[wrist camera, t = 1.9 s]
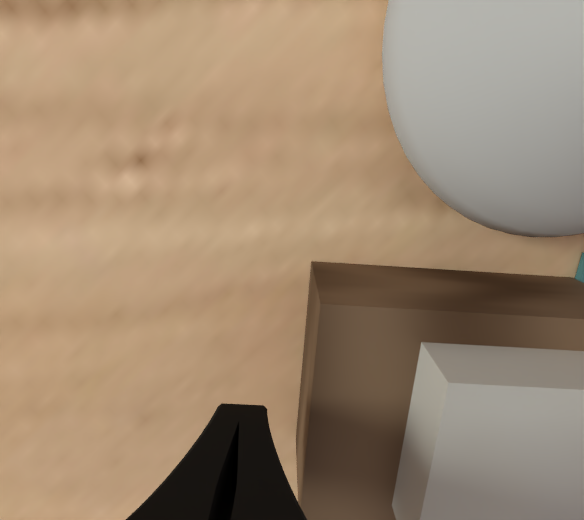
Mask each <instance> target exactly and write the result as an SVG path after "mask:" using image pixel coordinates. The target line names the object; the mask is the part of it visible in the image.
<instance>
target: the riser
mask: <svg viewBox="0 0 584 520" xmlns="http://www.w3.org/2000/svg"><path fill="white" fill-rule="evenodd" d="M421 342H427V343H445V344H463V345H481V346H499V347H518V348H536V349H554V350H572V351H584V283H582V282H580V281H578V280H576V279H574V278H569V277H553V276H537V275H521V274H504V273H488V272H472V271H456V270H440V269H424V268H408V267H392V266H376V265H359V264H343V263H327V262H311V272H310V284H309V295H308V307H307V318H306V330H305V341H304V352H303V364H302V375H301V387H300V398H299V410H298V421H297V432H296V455H297V484H298V504H299V505H300V507H301V509H302V511H303V513H304V515H305V517H306V518H307V520H396V518H395V514H394V511H393V507H392V501H393V496H394V490H395V485H396V479H397V474H398V468H399V463H400V457H401V452H402V446H403V441H404V435H405V430H406V424H407V419H408V413H409V408H410V402H411V397H412V391H413V386H414V380H415V375H416V369H417V364H418V358H419V353H420V347H421Z"/></svg>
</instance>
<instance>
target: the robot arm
mask: <svg viewBox="0 0 584 520" xmlns="http://www.w3.org/2000/svg"><path fill="white" fill-rule="evenodd" d="M126 520H307V518H306V517H305V515H304V513H303V511H302V509H301V507H300V505H299V504H298V502H297V500H296V498H295V496H294V494H293V491H292V489H291V487H290V485H289V483H288V480H287V478H286V476H285V473H284V471H283V468H282V466H281V463H280V461H279V458H278V455H277V452H276V449H275V446H274V443H273V440H272V436H271V432H270V428H269V424H268V417H267V409H266V408H265V407H264V406H262V405H241V404H221V405H219V406H218V408H217V409H216V411H215V413H214V415H213V417H212V418H211V420H210V421H209V423H208V425H207V426H206V428H205V429H204V431H203V432H202V434H201V435H200V436H199V438H198V439H197V441H196V442H195V443H194V445H193V446H192V447H191V449H190V450H189V451H188V453H187V454H186V455H185V457H184V458H183V459H182V460H181V461H180V463H179V464H178V465H177V466H176V467H175V469H174V470H173V471H172V472H171V473H170V475H169V476H168V477H167V478H166V479H165V481H164V482H163V483H162V484H161V485H160V486H159V487H158V488H157V489H156V490H155V491H154V492H153V494H152V495H151V496H150V497H149V498H148V499H147V500H146V501H145V502H144V503H143V504H142V505H141V506H140V507H139V508H138V509H137V510H136V511H135V512H133V513H132V514H131V515H130V516H129V517H128V518H127V519H126Z"/></svg>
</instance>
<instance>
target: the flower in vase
mask: <svg viewBox="0 0 584 520" xmlns="http://www.w3.org/2000/svg"><path fill="white" fill-rule="evenodd" d="M382 64H383V83H384V89H385V94H386V100H387V105H388V110H389V114H390V117H391V120H392V123H393V126H394V130H395V133H396V135H397V138H398V140H399V142H400V144H401V146H402V148H403V150H404V153H405V155H406V157H407V158H408V160H409V161H410V163H411V164H412V166H413V167H414V169H415V171H416V172H417V174H418V175H419V176H420V178H421V179H422V180H423V181H424V182H425V183H426V185H427V186H428V187H429V188H430V189H431V190H432V191H433V193H434V194H436V195H437V196H438V197H439V198H440V199H441V200H443V201H444V202H445V203H446V204H447V205H448V206H450V207H451V208H452V209H454V210H456V211H457V212H459V213H460V214H462V215H463V216H465V217H467V218H468V219H470V220H472V221H475V222H477V223H479V224H481V225H484V226H486V227H488V228H491V229H495V230H498V231H502V232H505V233H509V234H514V235H522V236H529V237H560V236H568V235H576V234H582V233H584V0H389V1H388V7H387V12H386V17H385V23H384V33H383V48H382Z"/></svg>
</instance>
